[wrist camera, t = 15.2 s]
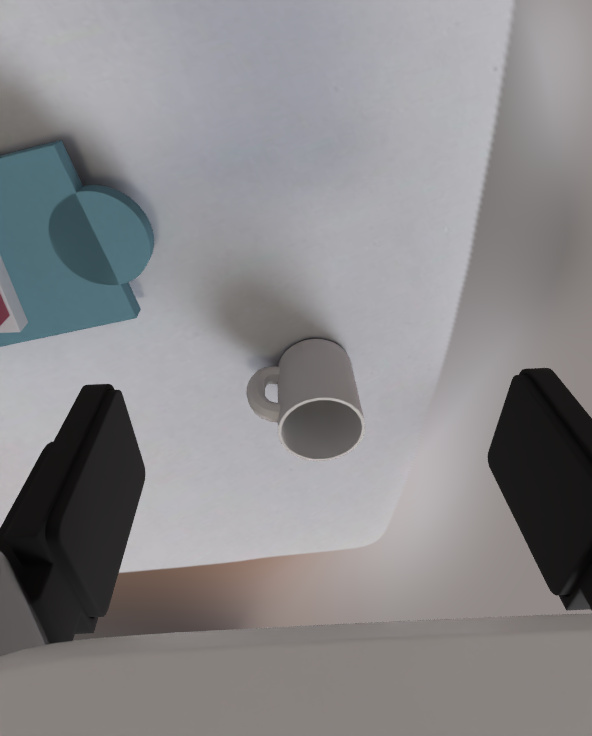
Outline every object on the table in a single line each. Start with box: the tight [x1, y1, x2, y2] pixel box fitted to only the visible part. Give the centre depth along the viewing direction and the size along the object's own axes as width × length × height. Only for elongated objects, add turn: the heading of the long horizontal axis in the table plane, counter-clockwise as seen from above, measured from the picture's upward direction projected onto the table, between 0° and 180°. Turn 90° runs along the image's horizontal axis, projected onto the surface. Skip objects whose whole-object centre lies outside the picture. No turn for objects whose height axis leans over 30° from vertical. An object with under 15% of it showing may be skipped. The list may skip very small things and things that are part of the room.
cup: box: [247, 339, 365, 461], centre depth 42 cm, size 7×10×9 cm
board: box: [0, 140, 154, 347], centre depth 36 cm, size 24×13×4 cm, turn 102°
